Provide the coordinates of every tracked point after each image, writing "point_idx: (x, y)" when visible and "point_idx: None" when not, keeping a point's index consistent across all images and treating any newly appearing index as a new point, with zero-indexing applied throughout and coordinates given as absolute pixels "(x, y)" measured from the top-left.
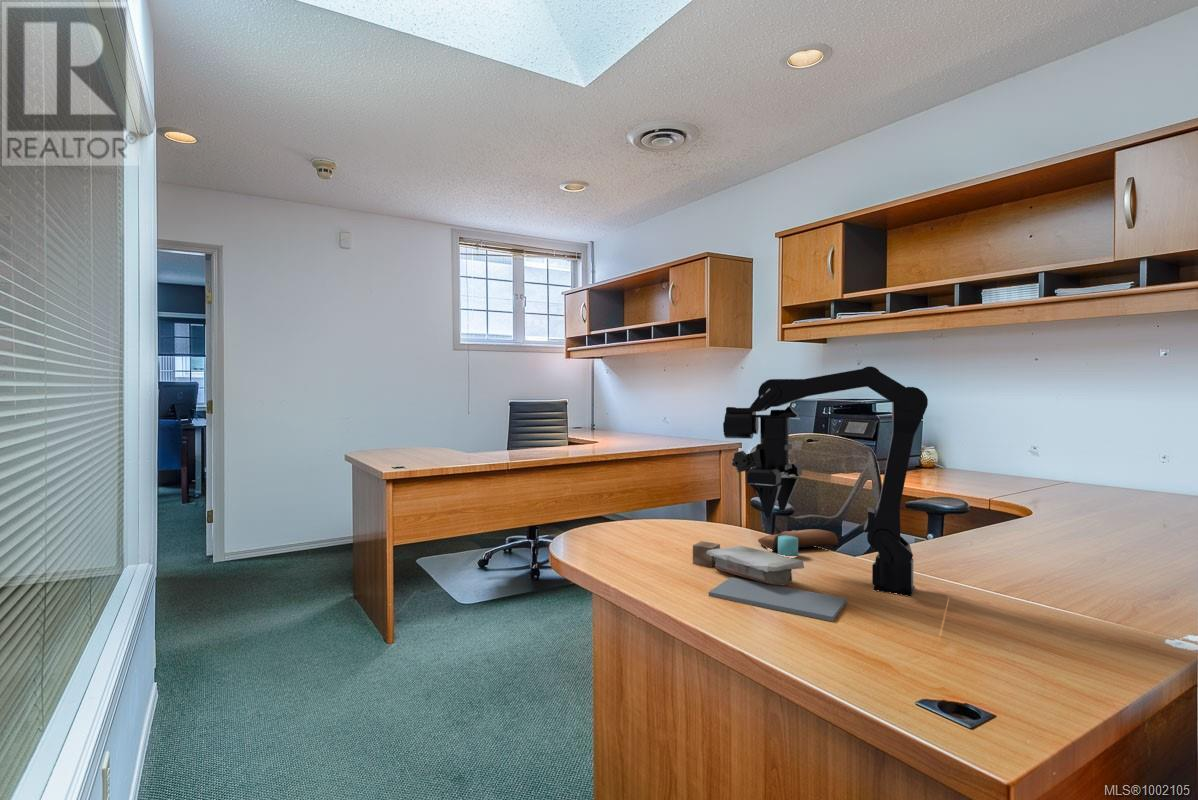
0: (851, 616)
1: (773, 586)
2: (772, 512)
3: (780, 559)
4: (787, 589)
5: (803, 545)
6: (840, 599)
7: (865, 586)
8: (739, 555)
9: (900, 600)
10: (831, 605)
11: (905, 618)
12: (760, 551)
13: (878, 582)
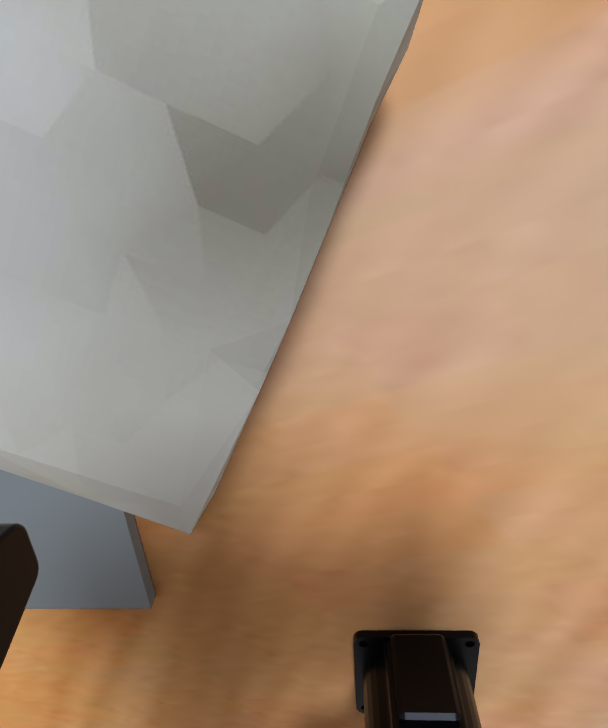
0: (46, 621)
1: None
2: (9, 643)
3: (107, 448)
4: None
5: None
6: (121, 597)
7: (389, 608)
8: (3, 187)
9: (300, 690)
10: (39, 589)
11: (148, 708)
12: (258, 254)
13: (384, 662)
